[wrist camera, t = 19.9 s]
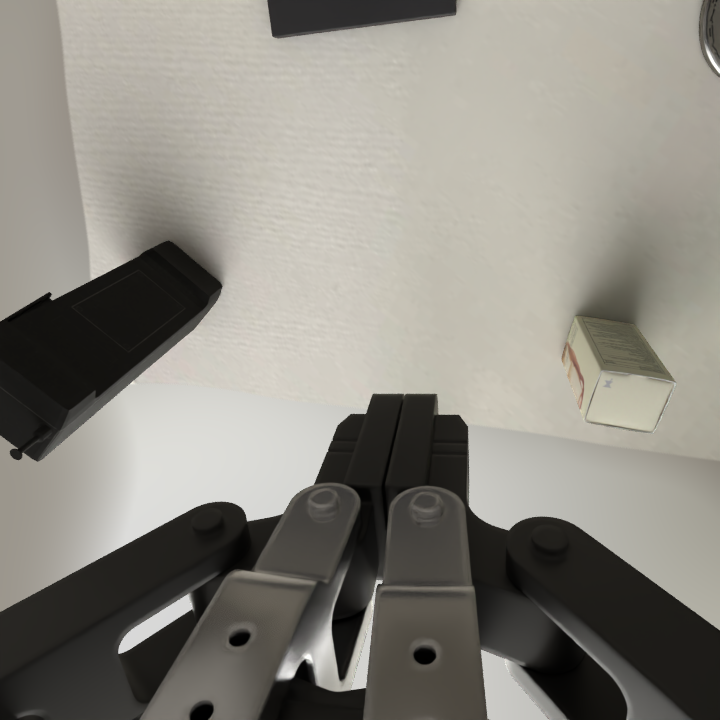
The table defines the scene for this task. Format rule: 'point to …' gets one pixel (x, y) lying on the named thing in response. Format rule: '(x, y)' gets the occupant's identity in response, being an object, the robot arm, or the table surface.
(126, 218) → the table surface
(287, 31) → the monitor stand
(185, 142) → the table surface
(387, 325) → the table surface
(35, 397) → the portable radio
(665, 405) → the white cardboard box
